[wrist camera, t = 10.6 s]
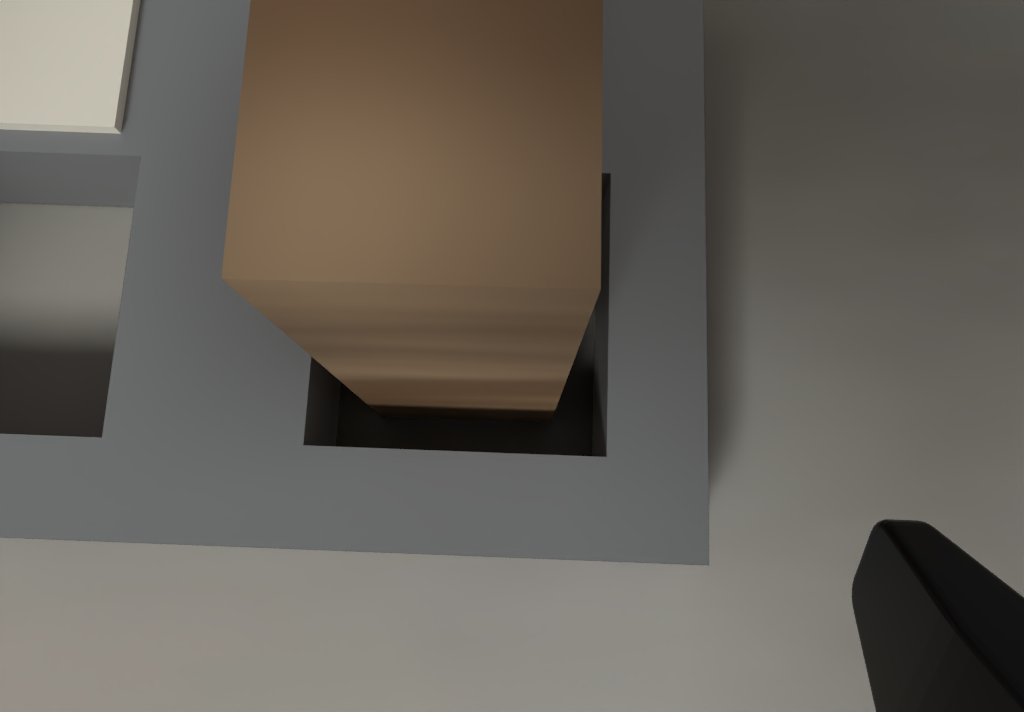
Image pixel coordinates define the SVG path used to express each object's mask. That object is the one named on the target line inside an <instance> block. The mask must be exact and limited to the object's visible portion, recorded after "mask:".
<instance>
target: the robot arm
mask: <svg viewBox="0 0 1024 712" xmlns="http://www.w3.org/2000/svg"><path fill="white" fill-rule="evenodd" d="M852 604H853V610H854V614H855V619H856V623H857V628H858V632H859V637H860V641H861V646H862V650H863V655H864V659H865V664H866V668H867V673H868V677H869V682H870V686H871V691H872V695H873V700H874V704H875V709H876V712H1024V597H1022V596H1021V595H1020V594H1019V593H1017V592H1016V591H1015V590H1013V589H1012V588H1011V587H1010V586H1008V585H1007V584H1006V583H1004V582H1003V581H1002V580H1001V579H999V578H998V577H997V576H996V575H994V574H993V573H992V572H990V571H989V570H988V569H987V568H985V567H984V566H983V565H981V564H980V563H979V562H978V561H976V560H975V559H974V558H972V557H971V556H970V555H969V554H967V553H966V552H965V551H963V550H962V549H961V548H960V547H958V546H957V545H956V544H954V543H953V542H952V541H951V540H949V539H948V538H947V537H945V536H944V535H943V534H942V533H940V532H939V531H938V530H937V529H935V528H934V527H932V526H931V525H929V524H927V523H925V522H922V521H913V520H888V519H887V520H882V521H879V522H878V523H877V524H876V525H875V526H874V527H873V529H872V531H871V533H870V536H869V539H868V542H867V544H866V547H865V550H864V553H863V555H862V558H861V561H860V564H859V566H858V569H857V572H856V575H855V577H854V581H853V586H852Z"/></svg>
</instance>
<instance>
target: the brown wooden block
mask: <svg viewBox="0 0 1024 712" xmlns="http://www.w3.org/2000/svg"><path fill="white" fill-rule="evenodd" d="M602 61H603V0H251V1H250V11H249V20H248V30H247V39H246V49H245V58H244V68H243V77H242V87H241V96H240V105H239V115H238V124H237V134H236V143H235V153H234V162H233V172H232V181H231V191H230V200H229V210H228V219H227V229H226V238H225V247H224V257H223V266H222V276H221V279H222V280H223V281H224V282H226V283H227V284H228V285H229V286H230V287H231V288H233V289H234V290H235V291H236V292H237V293H238V294H240V295H241V296H242V297H243V298H244V299H245V300H247V301H248V302H249V303H250V304H251V305H252V306H253V307H255V308H256V309H257V310H258V311H259V312H260V313H262V314H263V315H264V316H265V317H266V318H267V319H269V320H270V321H271V322H272V323H273V324H274V325H276V326H277V327H278V328H279V329H280V330H281V331H283V332H284V333H285V334H286V335H287V336H288V337H290V338H291V339H292V340H293V341H294V342H295V343H297V344H298V345H299V346H300V347H301V348H302V349H303V350H305V351H306V352H307V353H308V354H309V355H310V356H312V357H313V358H314V359H315V360H316V361H317V362H319V363H320V364H321V365H322V366H323V367H324V368H326V369H327V370H328V371H329V372H330V373H331V374H333V375H334V376H335V377H336V378H337V379H338V380H340V381H341V382H342V383H343V384H344V385H345V386H347V387H348V388H349V389H350V390H351V391H352V392H353V393H355V394H356V395H357V396H358V397H359V398H360V399H362V400H363V401H364V402H365V403H366V404H367V405H369V406H370V407H371V408H372V409H373V410H374V411H376V412H377V413H378V414H379V415H380V416H381V417H409V418H444V419H478V420H512V421H546V422H551V420H552V418H553V415H554V412H555V410H556V407H557V404H558V402H559V399H560V396H561V394H562V391H563V388H564V386H565V383H566V380H567V378H568V375H569V373H570V370H571V367H572V365H573V362H574V359H575V357H576V354H577V351H578V349H579V346H580V343H581V341H582V338H583V335H584V333H585V330H586V327H587V325H588V322H589V319H590V317H591V314H592V312H593V309H594V306H595V304H596V301H597V298H598V296H599V293H600V290H601V196H602Z"/></svg>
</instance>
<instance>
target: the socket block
mask: <svg viewBox="0 0 1024 712" xmlns="http://www.w3.org/2000/svg"><path fill="white" fill-rule="evenodd" d="M250 1H251V0H0V202H4V203H31V204H58V205H86V206H113V207H134V211H133V218H132V225H131V233H130V240H129V247H128V254H127V261H126V268H125V275H124V283H123V290H122V297H121V304H120V311H119V318H118V325H117V333H116V340H115V347H114V354H113V361H112V368H111V375H110V383H109V390H108V397H107V404H106V411H105V418H104V425H103V433H102V438H101V437H75V436H49V435H23V434H0V538H25V539H51V540H76V541H102V542H127V543H153V544H178V545H203V546H229V547H254V548H280V549H305V550H331V551H356V552H381V553H407V554H432V555H458V556H483V557H509V558H534V559H559V560H585V561H610V562H636V563H661V564H686V565H709V494H708V396H707V299H706V202H705V105H704V8H703V0H603V61H602V196H601V290H600V293H599V296H598V298H597V301H596V304H595V334H594V388H593V443H592V456H569V455H543V454H517V453H491V452H465V451H439V450H413V449H387V448H361V447H336V440H337V427H338V415H339V403H340V391H341V381H340V380H338V379H337V378H336V377H335V376H334V375H333V374H331V373H330V372H329V371H328V370H327V369H326V368H324V367H323V366H322V365H321V364H320V363H319V362H317V361H316V360H315V359H314V358H313V357H312V356H310V355H309V354H308V353H307V352H306V351H305V350H303V349H302V348H301V347H300V346H299V345H298V344H297V343H295V342H294V341H293V340H292V339H291V338H290V337H288V336H287V335H286V334H285V333H284V332H283V331H281V330H280V329H279V328H278V327H277V326H276V325H274V324H273V323H272V322H271V321H270V320H269V319H267V318H266V317H265V316H264V315H263V314H262V313H260V312H259V311H258V310H257V309H256V308H255V307H253V306H252V305H251V304H250V303H249V302H248V301H247V300H245V299H244V298H243V297H242V296H241V295H240V294H238V293H237V292H236V291H235V290H234V289H233V288H231V287H230V286H229V285H228V284H227V283H226V282H224V281H223V280H222V279H221V276H222V266H223V257H224V247H225V238H226V229H227V219H228V210H229V200H230V191H231V181H232V172H233V162H234V153H235V143H236V134H237V124H238V115H239V105H240V96H241V87H242V77H243V68H244V58H245V49H246V39H247V30H248V20H249V11H250Z"/></svg>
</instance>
